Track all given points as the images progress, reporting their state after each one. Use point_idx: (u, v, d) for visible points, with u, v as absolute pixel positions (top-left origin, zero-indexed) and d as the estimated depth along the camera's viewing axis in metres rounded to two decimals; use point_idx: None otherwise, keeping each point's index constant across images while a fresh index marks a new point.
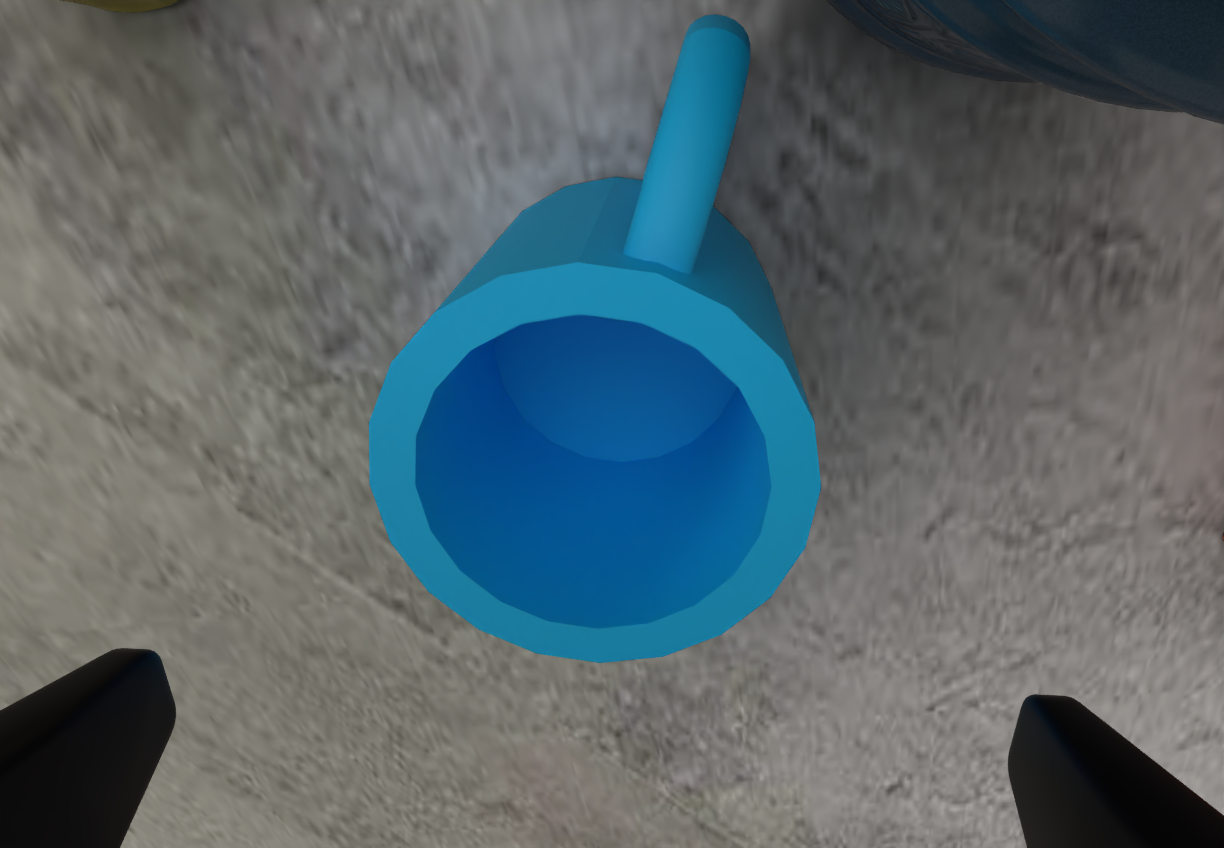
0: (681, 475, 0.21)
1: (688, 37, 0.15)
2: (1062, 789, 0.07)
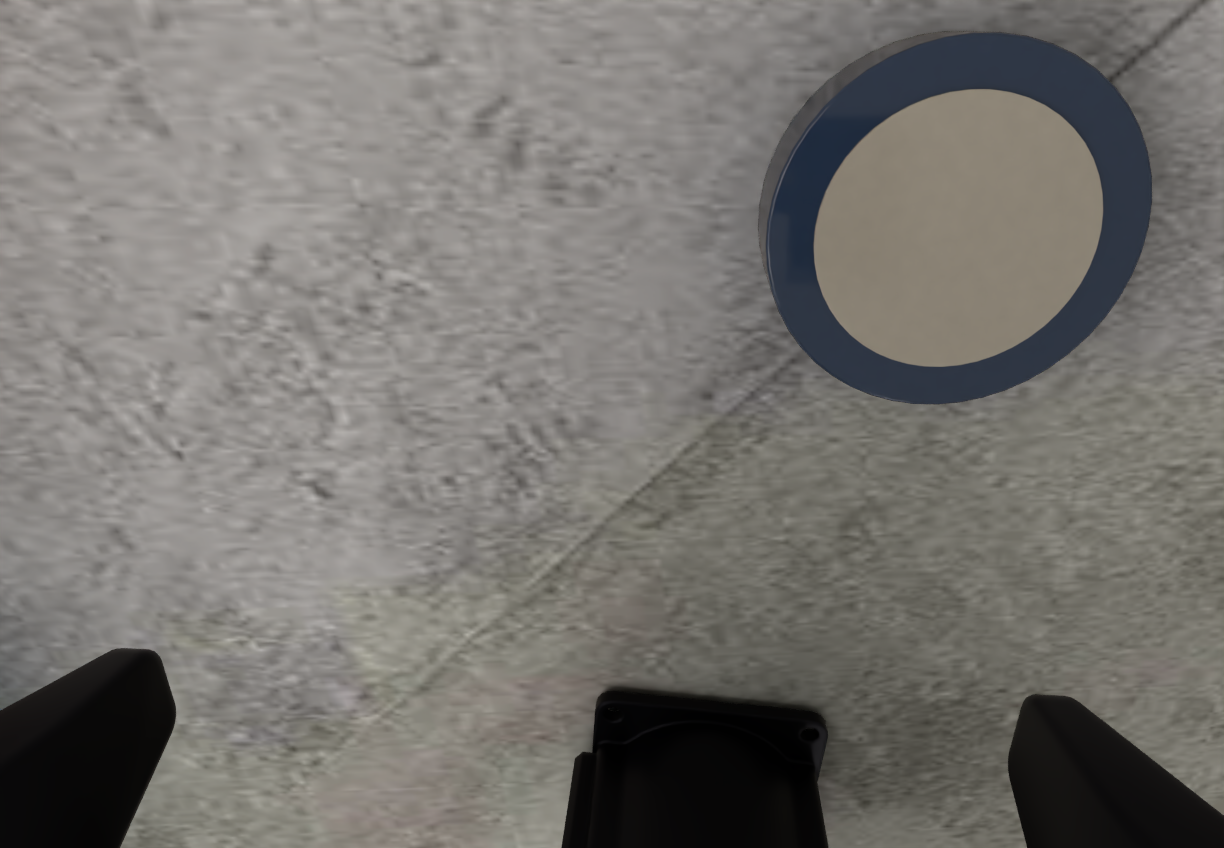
0: None
1: None
2: (1062, 789, 0.07)
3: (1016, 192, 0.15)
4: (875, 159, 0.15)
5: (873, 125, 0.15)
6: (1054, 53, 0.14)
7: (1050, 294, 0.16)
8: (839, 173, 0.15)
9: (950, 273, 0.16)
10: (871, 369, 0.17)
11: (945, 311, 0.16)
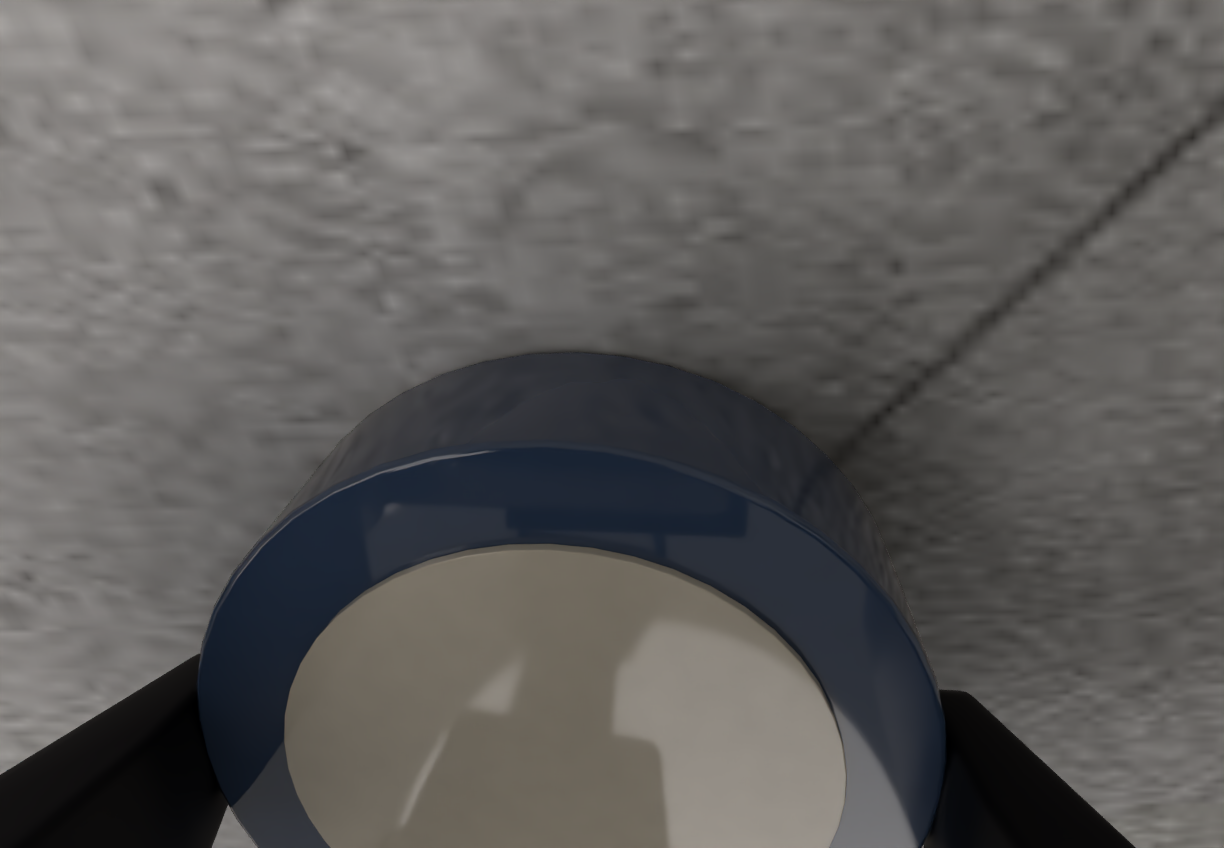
0: None
1: None
2: (948, 782, 0.07)
3: (661, 709, 0.07)
4: (357, 666, 0.07)
5: (338, 606, 0.07)
6: (669, 479, 0.06)
7: None
8: (303, 682, 0.08)
9: (573, 828, 0.08)
10: None
11: None
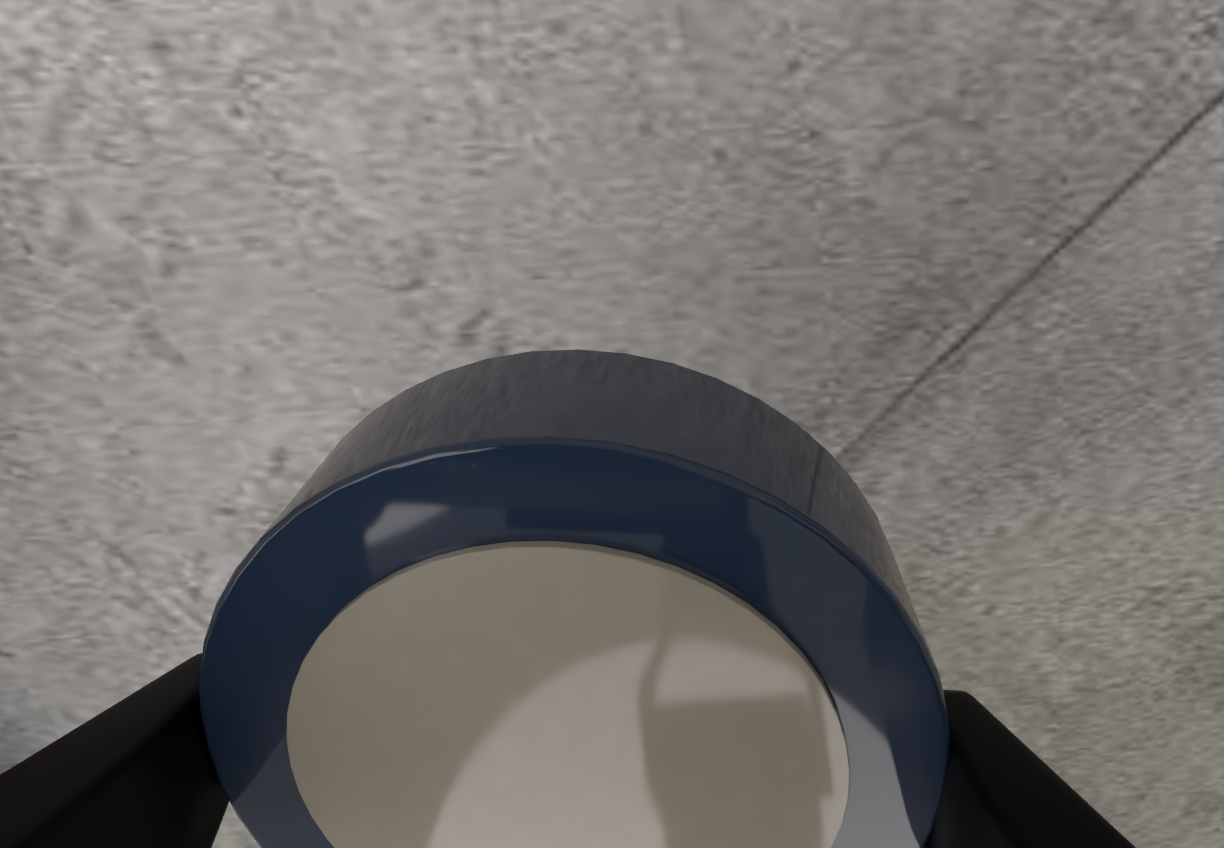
0: None
1: None
2: (948, 782, 0.07)
3: (665, 707, 0.07)
4: (360, 664, 0.07)
5: (341, 604, 0.07)
6: (673, 476, 0.06)
7: None
8: (306, 680, 0.08)
9: (576, 827, 0.08)
10: None
11: None
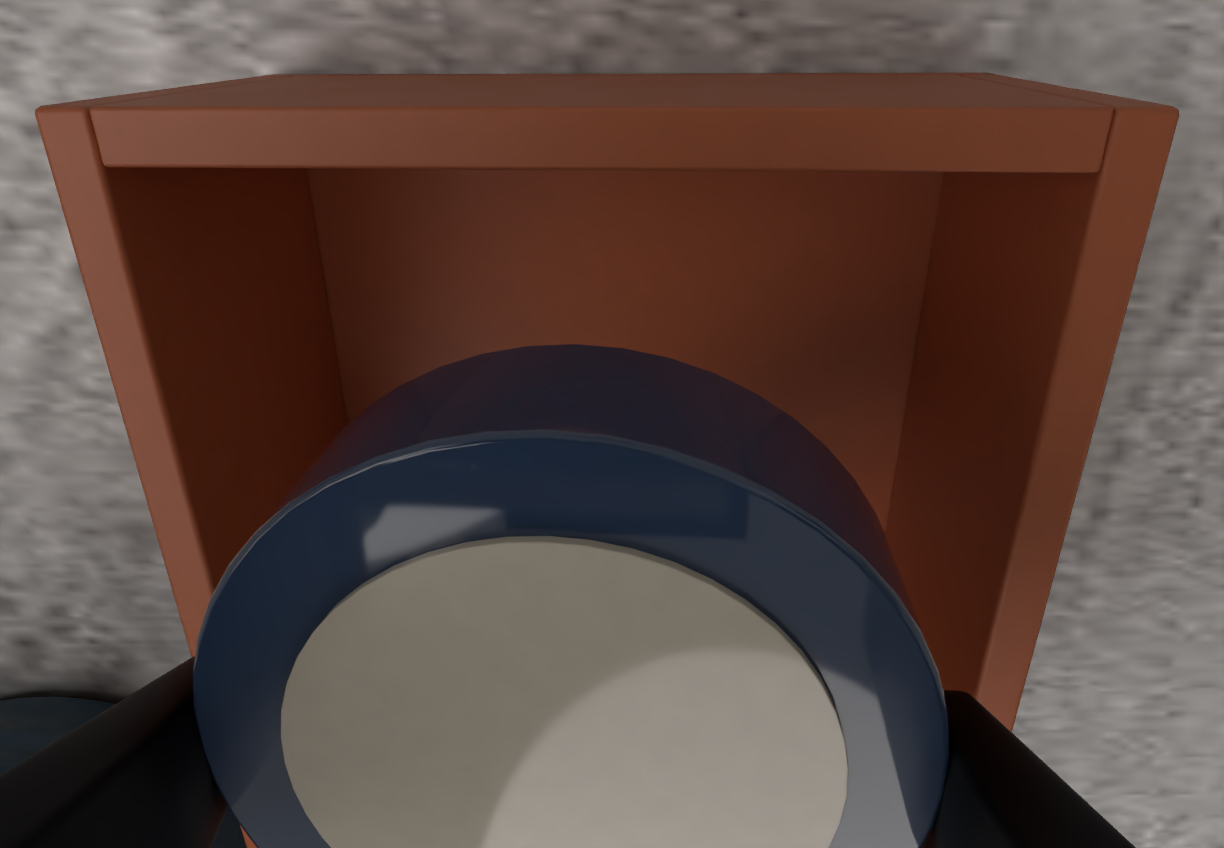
0: None
1: None
2: (947, 782, 0.07)
3: (662, 704, 0.07)
4: (354, 660, 0.07)
5: (335, 599, 0.07)
6: (669, 470, 0.06)
7: None
8: (300, 677, 0.08)
9: (573, 823, 0.08)
10: None
11: None
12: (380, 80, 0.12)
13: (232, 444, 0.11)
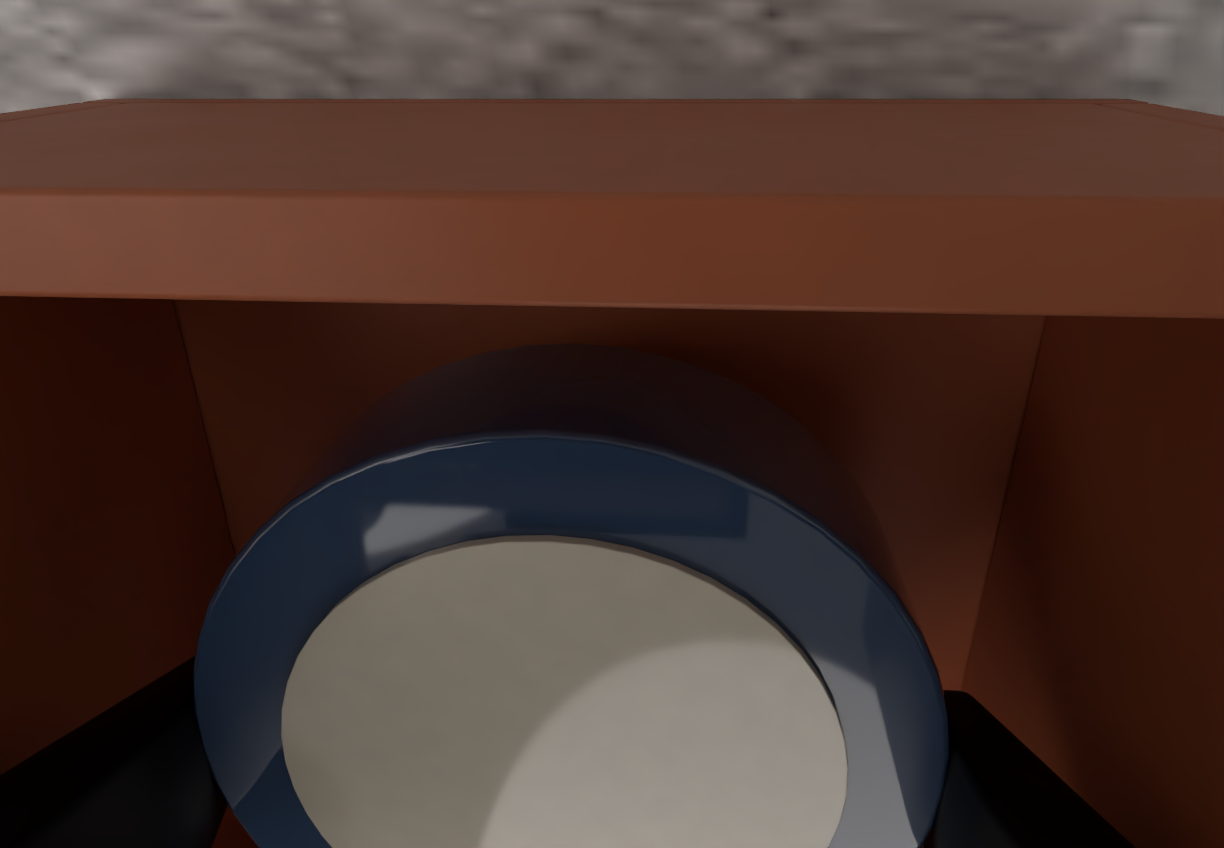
0: None
1: None
2: (948, 782, 0.07)
3: (662, 702, 0.07)
4: (355, 659, 0.07)
5: (336, 598, 0.07)
6: (670, 469, 0.06)
7: None
8: (301, 675, 0.08)
9: (573, 823, 0.08)
10: None
11: None
12: (234, 112, 0.08)
13: (2, 667, 0.08)
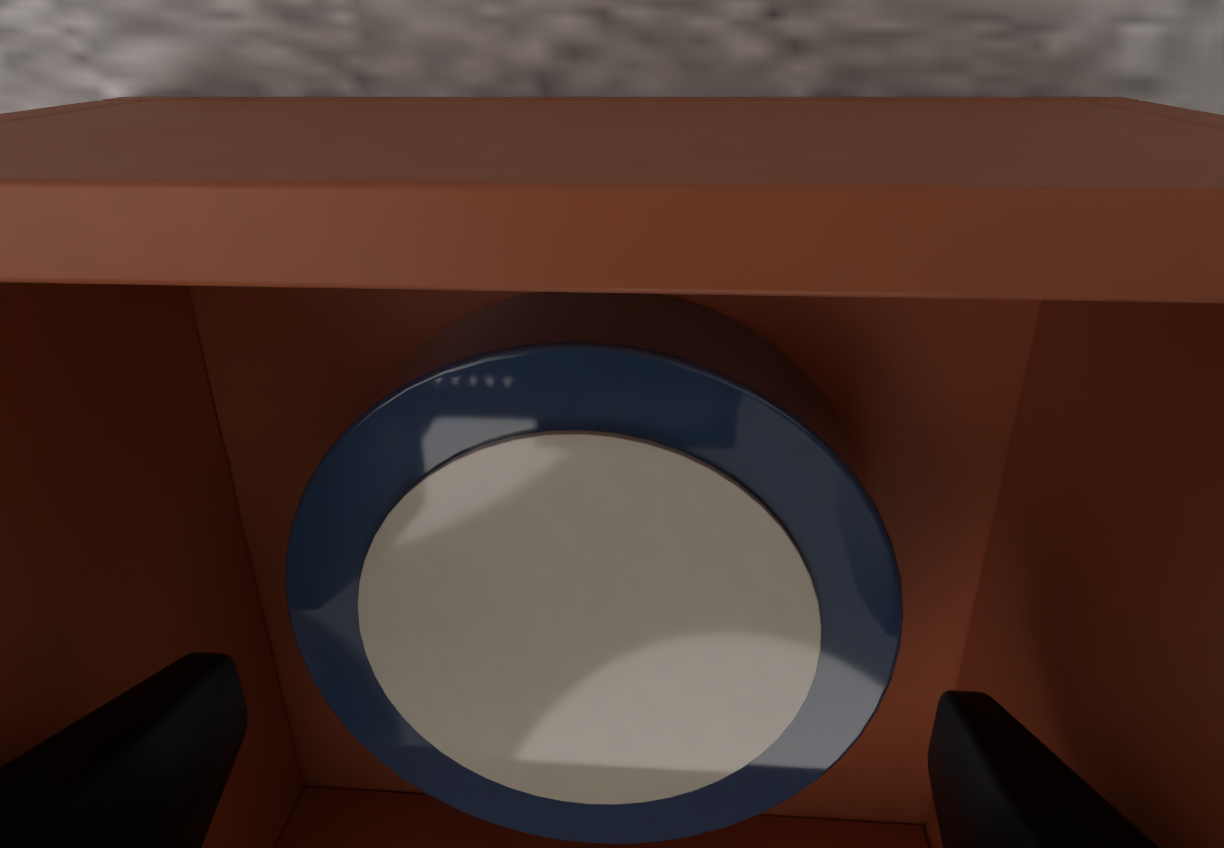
0: None
1: None
2: (968, 783, 0.07)
3: (670, 574, 0.09)
4: (421, 538, 0.09)
5: (407, 487, 0.09)
6: (677, 374, 0.08)
7: (763, 709, 0.10)
8: (375, 554, 0.09)
9: (596, 683, 0.10)
10: (512, 804, 0.11)
11: (600, 736, 0.10)
12: (251, 110, 0.08)
13: (27, 647, 0.08)
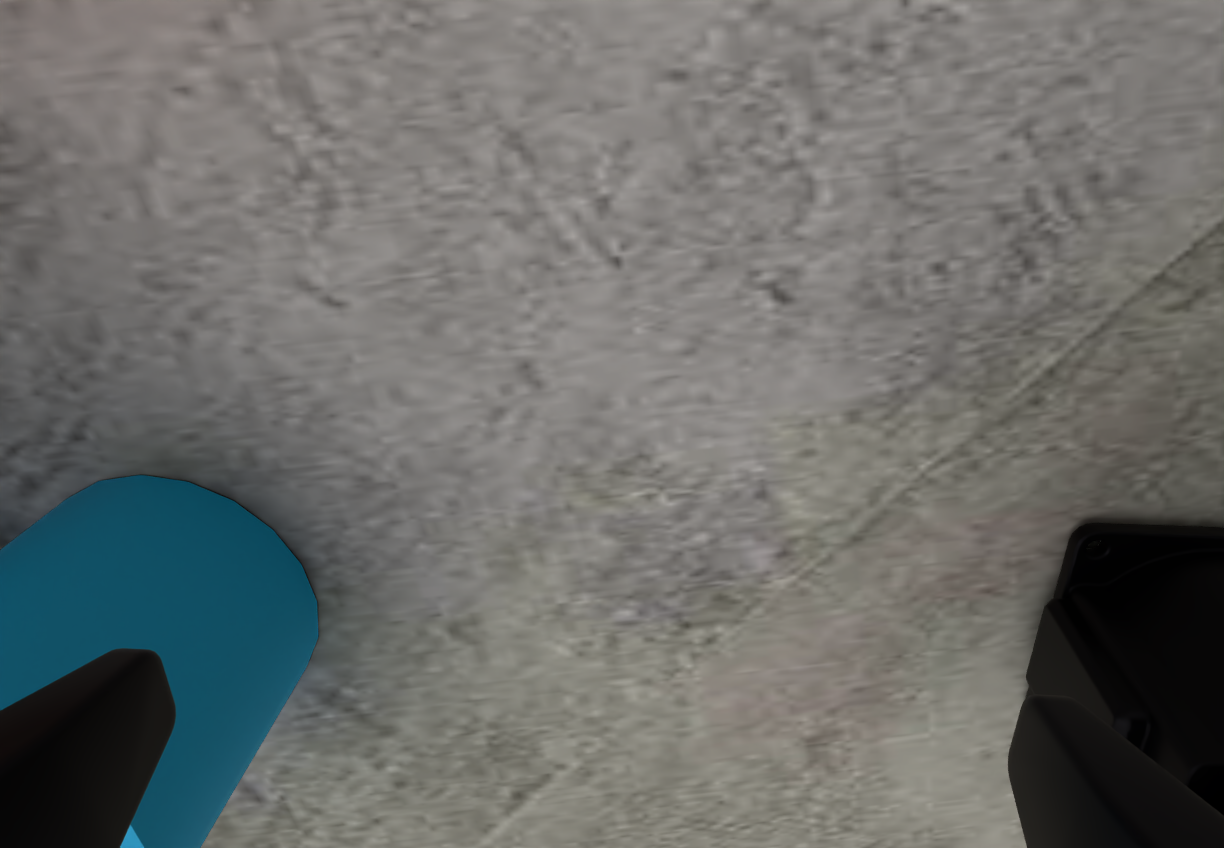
0: None
1: None
2: (1062, 788, 0.07)
3: None
4: None
5: None
6: None
7: None
8: None
9: None
10: None
11: None
12: None
13: None
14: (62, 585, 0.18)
